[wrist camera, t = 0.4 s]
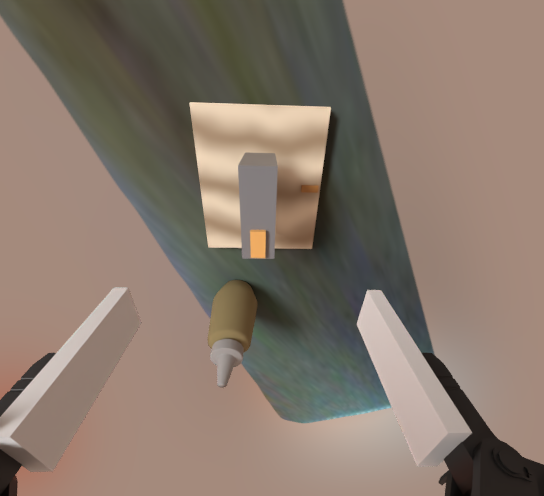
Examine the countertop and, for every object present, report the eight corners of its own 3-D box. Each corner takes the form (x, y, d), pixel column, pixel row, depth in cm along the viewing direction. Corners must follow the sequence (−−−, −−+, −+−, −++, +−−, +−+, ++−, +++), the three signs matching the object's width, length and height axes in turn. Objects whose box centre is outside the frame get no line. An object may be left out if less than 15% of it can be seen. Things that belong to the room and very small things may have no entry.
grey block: (245, 152, 28) (237, 166, 20) (275, 153, 28) (277, 167, 20) (247, 227, 33) (241, 260, 25) (272, 228, 33) (274, 261, 25)
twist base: (194, 103, 29) (182, 101, 25) (327, 107, 29) (336, 106, 26) (211, 241, 39) (204, 255, 35) (310, 243, 40) (314, 257, 36)
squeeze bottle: (253, 309, 47) (246, 404, 32) (214, 302, 46) (187, 397, 31) (262, 279, 43) (260, 371, 28) (220, 270, 42) (192, 361, 27)
